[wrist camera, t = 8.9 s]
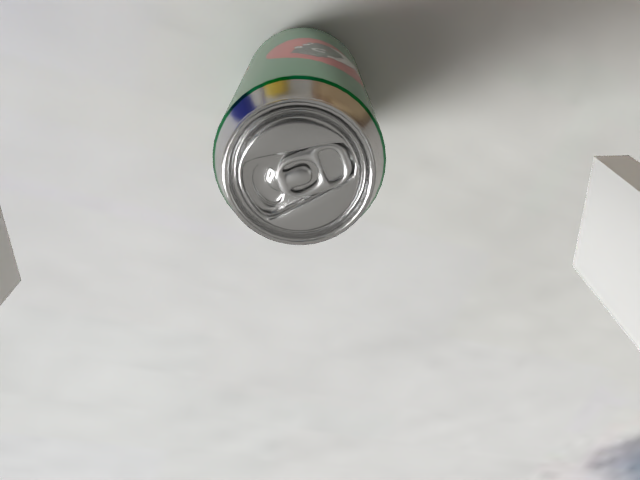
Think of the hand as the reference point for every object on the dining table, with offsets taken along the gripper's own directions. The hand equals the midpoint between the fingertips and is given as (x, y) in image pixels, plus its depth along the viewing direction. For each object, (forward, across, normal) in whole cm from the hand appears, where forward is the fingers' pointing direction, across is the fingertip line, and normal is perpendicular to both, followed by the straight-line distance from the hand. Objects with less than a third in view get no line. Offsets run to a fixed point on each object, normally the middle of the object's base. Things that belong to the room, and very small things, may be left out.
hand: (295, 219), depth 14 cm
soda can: (+16, 0, 0) cm, 16 cm away
